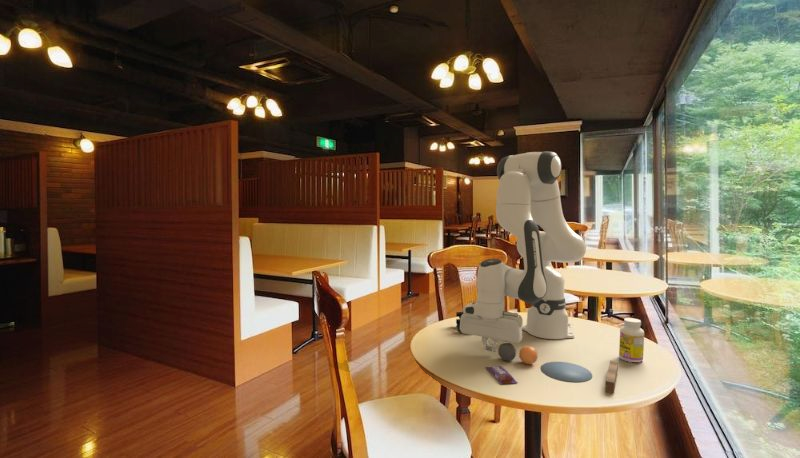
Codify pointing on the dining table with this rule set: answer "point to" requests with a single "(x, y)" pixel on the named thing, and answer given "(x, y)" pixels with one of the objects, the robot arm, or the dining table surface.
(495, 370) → the snack package
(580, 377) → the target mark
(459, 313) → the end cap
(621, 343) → the supplement bottle
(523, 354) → the object ball
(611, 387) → the wall
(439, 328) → the dining table surface
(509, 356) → the dark gray ball
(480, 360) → the dining table surface
